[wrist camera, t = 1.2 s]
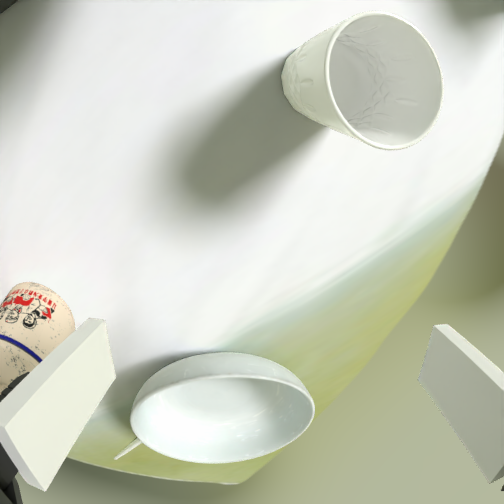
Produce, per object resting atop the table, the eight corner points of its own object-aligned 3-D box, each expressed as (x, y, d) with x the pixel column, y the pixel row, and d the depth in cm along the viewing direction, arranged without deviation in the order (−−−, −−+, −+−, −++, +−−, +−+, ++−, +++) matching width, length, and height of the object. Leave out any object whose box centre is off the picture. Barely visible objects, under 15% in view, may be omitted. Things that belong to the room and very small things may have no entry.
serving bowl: (159, 301, 29) (155, 353, 23) (329, 346, 36) (350, 388, 30) (121, 409, 36) (117, 451, 30) (253, 431, 43) (261, 467, 38)
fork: (107, 453, 44) (106, 461, 42) (151, 415, 38) (150, 426, 36) (122, 458, 45) (122, 466, 43) (170, 422, 39) (170, 432, 38)
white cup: (378, 99, 23) (459, 112, 14) (308, 145, 24) (371, 177, 15) (331, 22, 19) (404, -5, 10) (253, 66, 20) (293, 46, 12)
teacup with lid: (66, 278, 26) (23, 369, 15) (86, 346, 30) (65, 434, 20) (-21, 276, 23) (-72, 348, 13) (5, 339, 27) (-27, 412, 17)
